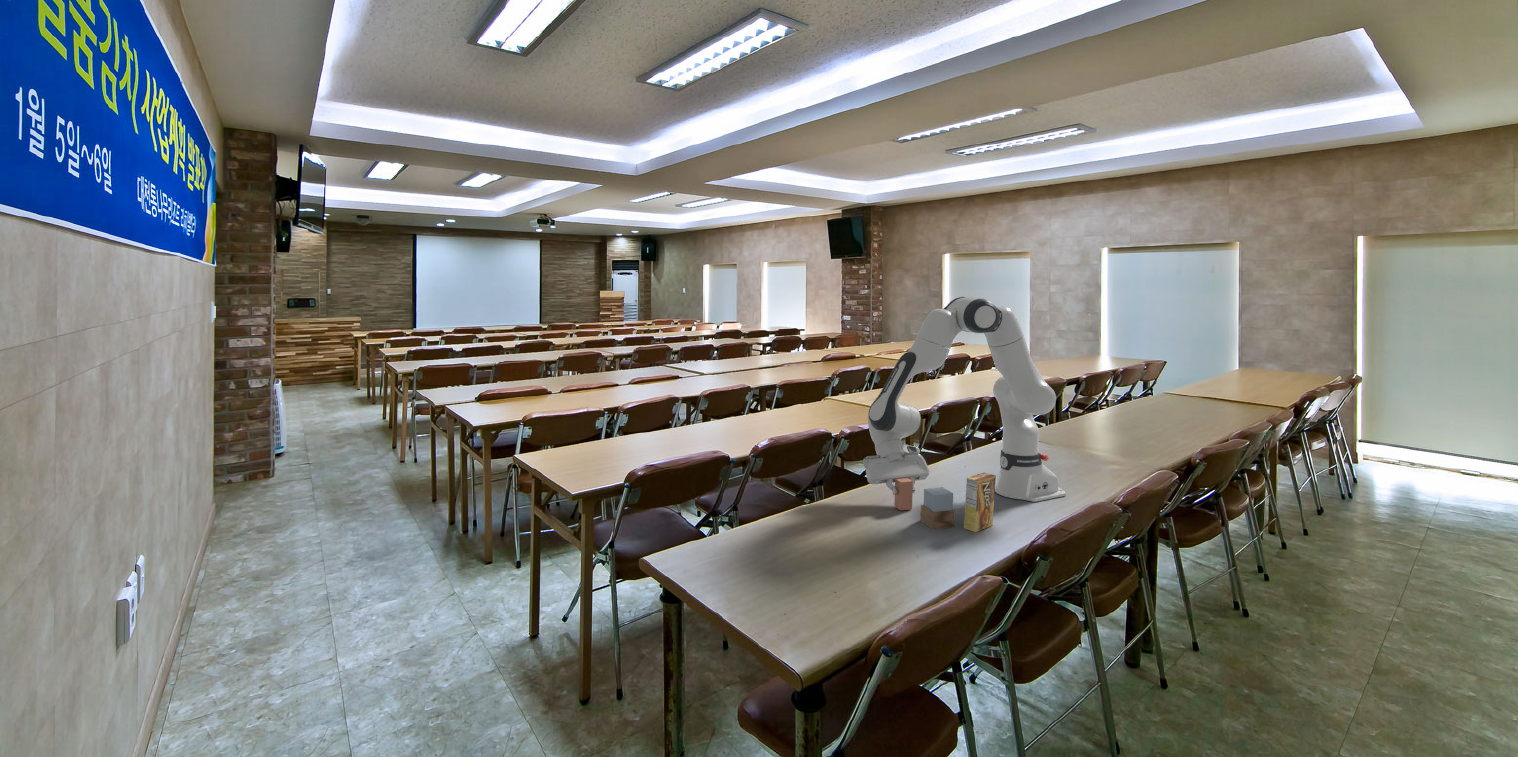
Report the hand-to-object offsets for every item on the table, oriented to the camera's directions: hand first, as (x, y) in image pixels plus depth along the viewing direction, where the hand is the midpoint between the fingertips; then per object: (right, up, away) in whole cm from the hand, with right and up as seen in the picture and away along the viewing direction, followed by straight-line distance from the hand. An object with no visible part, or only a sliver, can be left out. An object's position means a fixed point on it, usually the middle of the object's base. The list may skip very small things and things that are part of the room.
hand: (904, 493), depth 210 cm
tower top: (+7, -2, -12) cm, 14 cm away
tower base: (+7, -7, -11) cm, 15 cm away
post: (0, -5, +1) cm, 5 cm away
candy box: (+18, -8, -14) cm, 24 cm away
